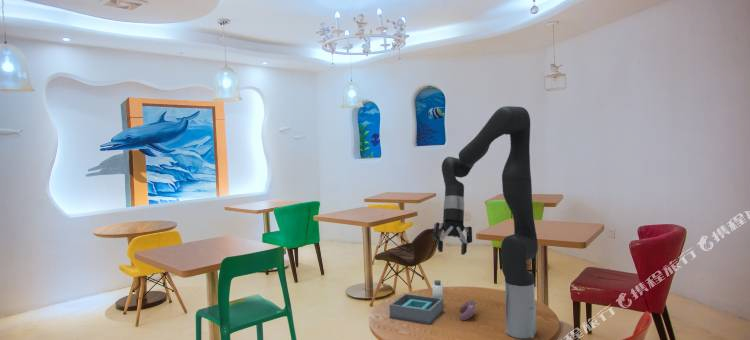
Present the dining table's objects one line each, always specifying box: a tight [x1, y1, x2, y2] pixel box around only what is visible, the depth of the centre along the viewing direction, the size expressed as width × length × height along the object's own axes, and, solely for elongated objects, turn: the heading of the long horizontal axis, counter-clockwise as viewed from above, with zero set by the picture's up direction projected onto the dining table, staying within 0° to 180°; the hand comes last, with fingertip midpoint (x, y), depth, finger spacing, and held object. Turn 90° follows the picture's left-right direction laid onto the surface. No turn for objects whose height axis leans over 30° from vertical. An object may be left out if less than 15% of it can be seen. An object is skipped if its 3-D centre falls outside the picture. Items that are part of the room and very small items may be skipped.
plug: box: [432, 279, 444, 300], centre depth 175 cm, size 4×4×10 cm
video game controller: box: [459, 299, 477, 321], centre depth 164 cm, size 10×5×7 cm, turn 169°
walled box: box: [388, 293, 445, 326], centre depth 167 cm, size 16×14×5 cm
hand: (451, 253), depth 161 cm, fingers open, 8 cm apart
